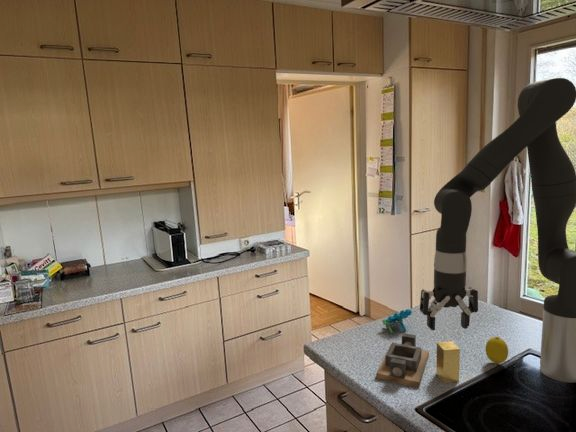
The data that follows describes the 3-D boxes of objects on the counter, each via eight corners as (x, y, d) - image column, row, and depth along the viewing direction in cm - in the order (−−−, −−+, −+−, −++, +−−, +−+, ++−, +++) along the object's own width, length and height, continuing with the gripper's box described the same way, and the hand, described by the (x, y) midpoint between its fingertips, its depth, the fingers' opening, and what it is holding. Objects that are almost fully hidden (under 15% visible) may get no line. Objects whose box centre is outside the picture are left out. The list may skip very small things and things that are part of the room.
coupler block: (451, 372, 108) (452, 341, 106) (459, 381, 104) (459, 348, 102) (436, 373, 108) (436, 342, 106) (443, 382, 104) (443, 350, 102)
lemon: (508, 370, 107) (509, 343, 106) (485, 367, 110) (486, 339, 108) (506, 360, 112) (508, 334, 111) (485, 357, 115) (485, 331, 113)
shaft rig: (428, 355, 117) (429, 336, 116) (419, 387, 102) (419, 366, 101) (390, 348, 122) (390, 330, 121) (376, 378, 107) (376, 357, 106)
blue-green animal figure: (404, 315, 141) (414, 304, 133) (413, 331, 138) (423, 320, 130) (377, 325, 138) (385, 313, 130) (384, 341, 135) (393, 330, 127)
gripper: (428, 273, 97) (426, 336, 99) (485, 270, 98) (482, 333, 100) (416, 265, 104) (415, 323, 107) (469, 262, 105) (467, 320, 107)
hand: (448, 328), depth 103 cm, fingers open, 8 cm apart
